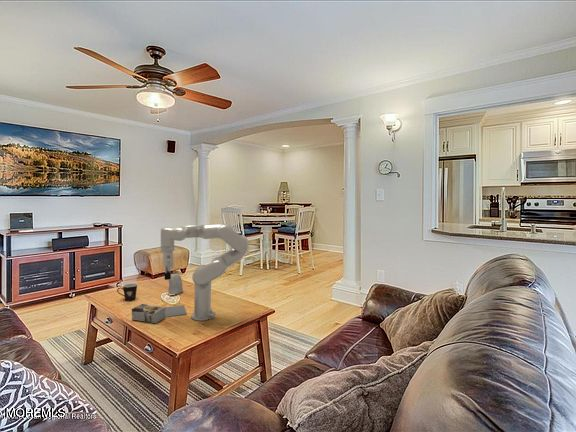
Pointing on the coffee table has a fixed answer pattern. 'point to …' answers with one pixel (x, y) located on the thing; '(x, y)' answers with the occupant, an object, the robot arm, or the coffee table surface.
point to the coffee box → (148, 313)
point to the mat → (175, 311)
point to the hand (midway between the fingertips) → (167, 279)
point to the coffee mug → (129, 291)
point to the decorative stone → (175, 284)
